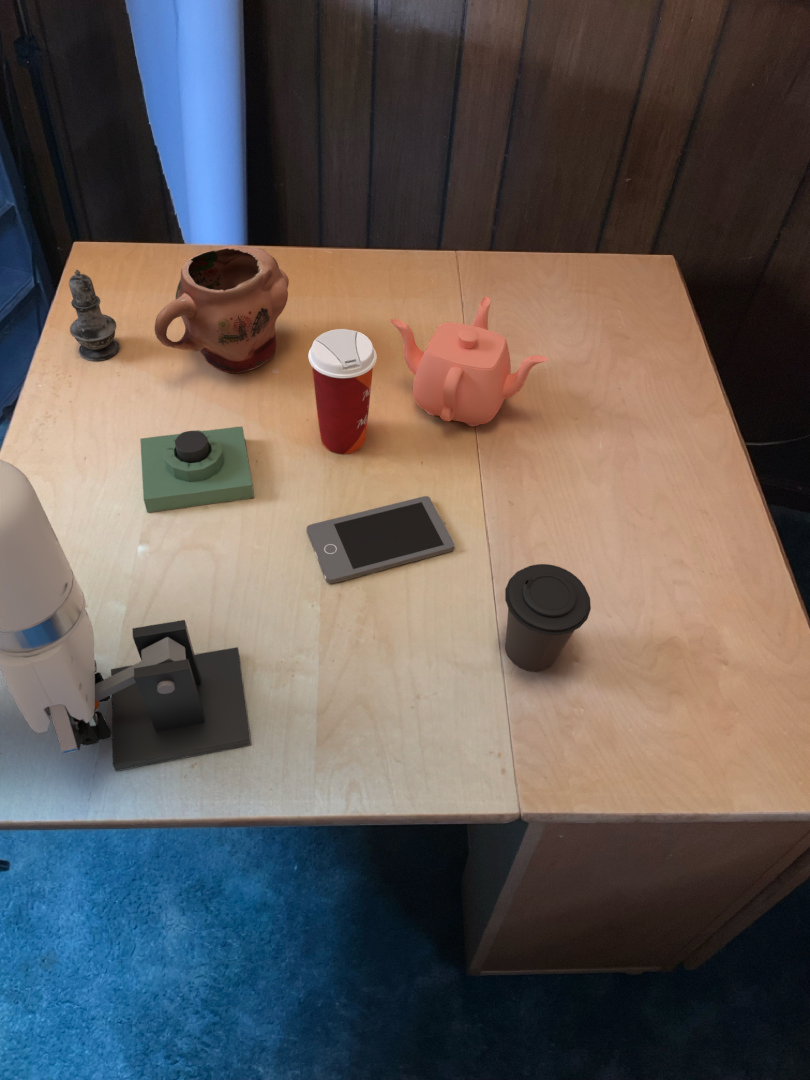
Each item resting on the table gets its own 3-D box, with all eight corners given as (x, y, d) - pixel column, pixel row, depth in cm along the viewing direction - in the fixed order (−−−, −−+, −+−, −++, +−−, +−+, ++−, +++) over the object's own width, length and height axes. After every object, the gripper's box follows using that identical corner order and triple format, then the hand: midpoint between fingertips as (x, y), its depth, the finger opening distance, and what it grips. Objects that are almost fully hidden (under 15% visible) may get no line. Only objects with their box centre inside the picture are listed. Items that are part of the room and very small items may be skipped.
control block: (147, 512, 91) (140, 488, 88) (143, 451, 97) (137, 426, 94) (254, 498, 93) (250, 473, 90) (244, 439, 99) (240, 414, 96)
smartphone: (428, 498, 95) (428, 494, 94) (456, 549, 90) (456, 545, 89) (305, 528, 91) (305, 524, 90) (327, 584, 86) (327, 580, 85)
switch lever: (79, 729, 71) (51, 718, 69) (79, 698, 73) (52, 686, 71) (190, 675, 69) (166, 661, 66) (187, 644, 71) (164, 629, 68)
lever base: (115, 771, 72) (85, 714, 63) (113, 674, 78) (85, 611, 69) (251, 744, 74) (239, 686, 66) (238, 653, 80) (226, 589, 72)
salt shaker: (109, 330, 112) (88, 251, 102) (129, 352, 109) (109, 273, 100) (69, 345, 109) (43, 266, 100) (88, 368, 106) (64, 288, 97)
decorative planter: (205, 416, 102) (189, 323, 91) (142, 374, 106) (119, 280, 95) (314, 344, 112) (310, 253, 101) (251, 308, 117) (242, 218, 106)
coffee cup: (486, 616, 85) (500, 557, 77) (562, 614, 85) (583, 556, 78) (497, 685, 79) (514, 629, 72) (578, 682, 80) (602, 626, 72)
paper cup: (382, 452, 99) (387, 360, 89) (323, 466, 97) (320, 374, 86) (361, 411, 104) (362, 319, 93) (304, 424, 102) (298, 332, 91)
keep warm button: (178, 465, 91) (175, 454, 90) (176, 443, 93) (173, 432, 92) (210, 461, 92) (208, 450, 90) (208, 439, 94) (205, 428, 92)
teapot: (386, 384, 108) (389, 314, 99) (478, 358, 112) (488, 289, 104) (437, 454, 100) (445, 384, 91) (534, 423, 104) (550, 354, 96)
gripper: (-19, 528, 64) (52, 652, 78) (-38, 711, 54) (48, 815, 68) (80, 513, 65) (132, 637, 79) (80, 689, 55) (139, 795, 69)
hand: (93, 718), depth 73 cm, fingers closed on switch lever, 3 cm apart
